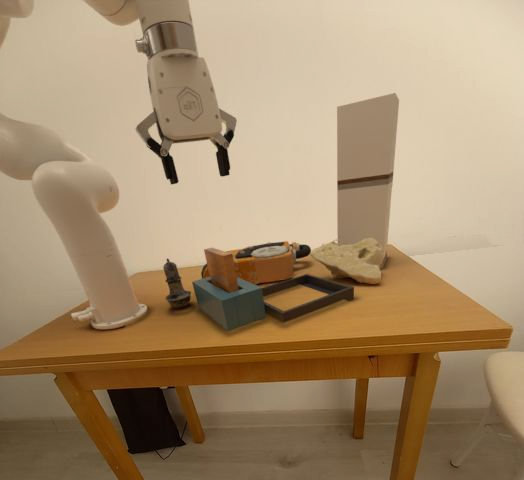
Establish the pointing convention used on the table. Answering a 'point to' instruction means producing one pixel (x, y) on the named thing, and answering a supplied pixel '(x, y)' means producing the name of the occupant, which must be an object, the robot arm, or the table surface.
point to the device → (265, 261)
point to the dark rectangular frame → (316, 283)
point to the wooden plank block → (221, 269)
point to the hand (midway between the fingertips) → (200, 179)
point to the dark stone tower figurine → (175, 287)
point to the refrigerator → (365, 169)
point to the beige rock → (352, 260)
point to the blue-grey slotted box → (230, 303)
